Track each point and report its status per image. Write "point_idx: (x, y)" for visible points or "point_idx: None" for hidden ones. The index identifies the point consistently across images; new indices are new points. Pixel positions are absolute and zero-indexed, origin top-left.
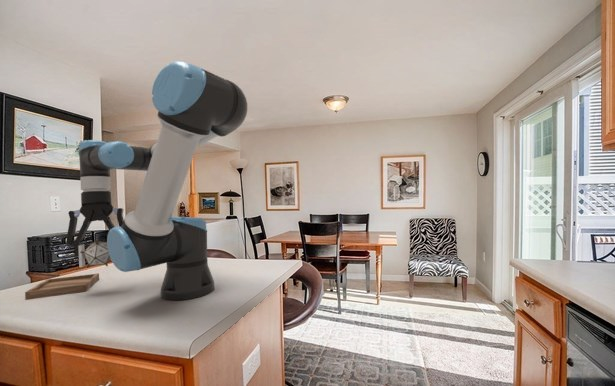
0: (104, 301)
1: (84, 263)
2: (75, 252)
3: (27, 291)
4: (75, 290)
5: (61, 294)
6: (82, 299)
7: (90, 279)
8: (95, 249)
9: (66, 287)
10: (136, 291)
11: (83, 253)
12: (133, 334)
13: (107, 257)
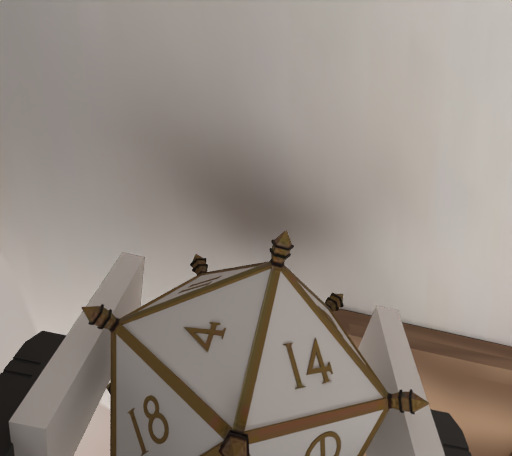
0: (247, 26)
1: None
2: (462, 450)
3: None
4: None
5: (435, 331)
6: (353, 168)
7: None
8: (266, 360)
9: (422, 349)
10: (87, 116)
11: (380, 436)
12: None
13: (171, 292)
